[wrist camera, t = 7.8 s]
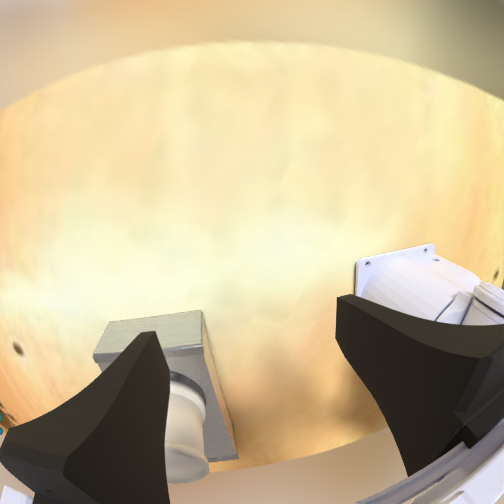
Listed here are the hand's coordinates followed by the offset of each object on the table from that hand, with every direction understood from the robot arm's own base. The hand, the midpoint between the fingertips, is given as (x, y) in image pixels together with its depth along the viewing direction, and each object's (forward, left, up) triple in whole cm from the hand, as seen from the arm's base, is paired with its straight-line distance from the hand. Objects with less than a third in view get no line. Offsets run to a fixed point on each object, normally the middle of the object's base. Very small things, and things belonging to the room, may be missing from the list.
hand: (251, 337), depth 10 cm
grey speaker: (+7, +12, -10) cm, 17 cm away
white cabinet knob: (+7, +10, -6) cm, 13 cm away
